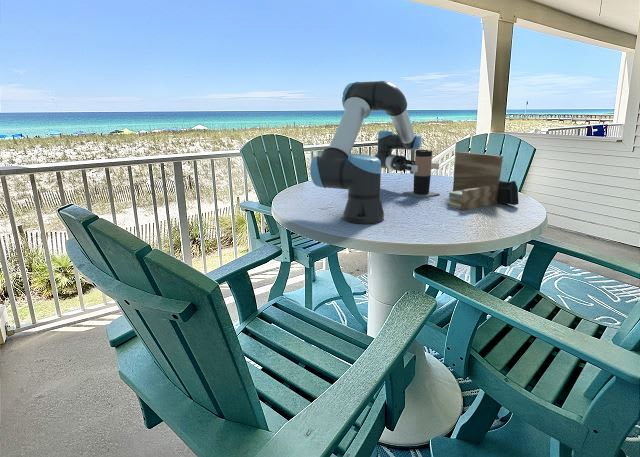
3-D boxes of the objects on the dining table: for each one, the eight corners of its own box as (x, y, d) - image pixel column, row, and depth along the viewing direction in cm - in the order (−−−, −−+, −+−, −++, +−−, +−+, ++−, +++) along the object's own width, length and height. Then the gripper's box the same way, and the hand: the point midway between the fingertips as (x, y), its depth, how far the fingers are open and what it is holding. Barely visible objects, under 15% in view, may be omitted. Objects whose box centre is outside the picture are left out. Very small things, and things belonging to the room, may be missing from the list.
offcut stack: (463, 210, 149) (465, 195, 147) (447, 206, 155) (448, 192, 153) (484, 203, 158) (486, 189, 156) (468, 200, 164) (469, 187, 162)
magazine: (525, 186, 146) (483, 156, 170) (518, 187, 145) (476, 156, 169) (511, 223, 155) (472, 189, 179) (504, 223, 155) (466, 189, 179)
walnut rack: (463, 210, 147) (469, 159, 141) (422, 200, 165) (426, 154, 159) (496, 203, 157) (502, 156, 151) (454, 194, 175) (458, 151, 169)
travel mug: (412, 194, 174) (414, 151, 168) (413, 191, 181) (415, 149, 175) (429, 195, 171) (432, 151, 165) (429, 191, 178) (432, 149, 172)
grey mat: (421, 198, 168) (421, 196, 168) (402, 193, 178) (403, 192, 178) (439, 195, 174) (439, 193, 174) (421, 190, 184) (421, 189, 184)
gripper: (414, 168, 194) (446, 173, 177) (377, 172, 182) (407, 178, 165) (415, 153, 192) (447, 157, 175) (377, 157, 180) (408, 161, 163)
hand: (428, 167), depth 170 cm, fingers open, 13 cm apart
